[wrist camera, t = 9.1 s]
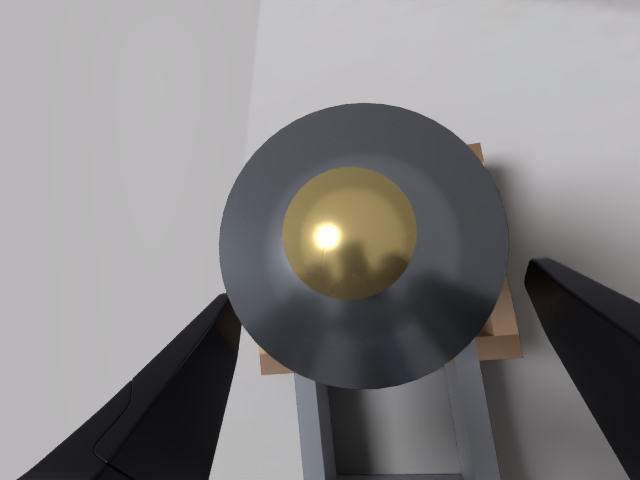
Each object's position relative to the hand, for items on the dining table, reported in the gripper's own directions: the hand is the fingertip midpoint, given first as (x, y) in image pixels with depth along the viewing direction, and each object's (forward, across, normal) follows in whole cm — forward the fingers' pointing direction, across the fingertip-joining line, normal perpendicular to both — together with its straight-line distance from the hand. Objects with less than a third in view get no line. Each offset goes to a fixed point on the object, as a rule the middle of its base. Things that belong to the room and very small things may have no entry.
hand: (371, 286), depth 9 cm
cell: (+6, 0, +5) cm, 8 cm away
